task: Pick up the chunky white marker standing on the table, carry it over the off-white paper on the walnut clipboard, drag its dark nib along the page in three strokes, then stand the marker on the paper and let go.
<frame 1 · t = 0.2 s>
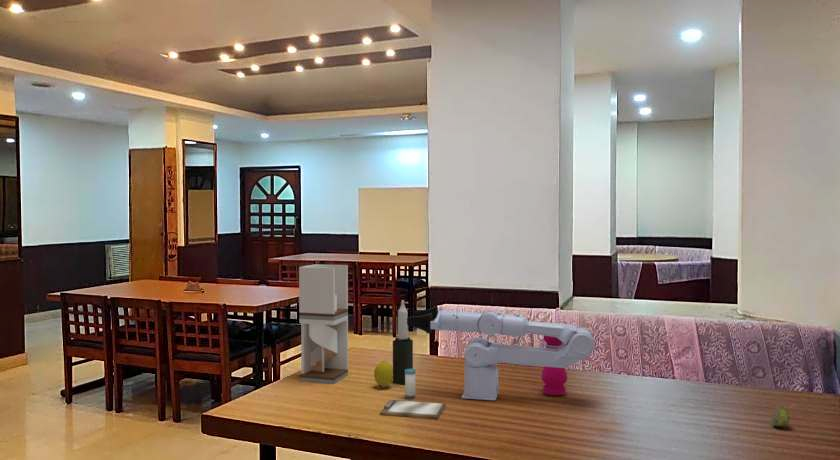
hand: (410, 318, 177), 21 cm above the table, tool horizontal, fingers open, 7 cm apart
pepper mill: (554, 393, 176), on the table, touching arm
marker: (410, 397, 172), on the table
lemon: (383, 388, 182), on the table
lime: (779, 427, 149), on the table
white tiered tower model: (324, 378, 193), on the table
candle: (402, 382, 188), on the table
clipboard: (413, 410, 161), on the table
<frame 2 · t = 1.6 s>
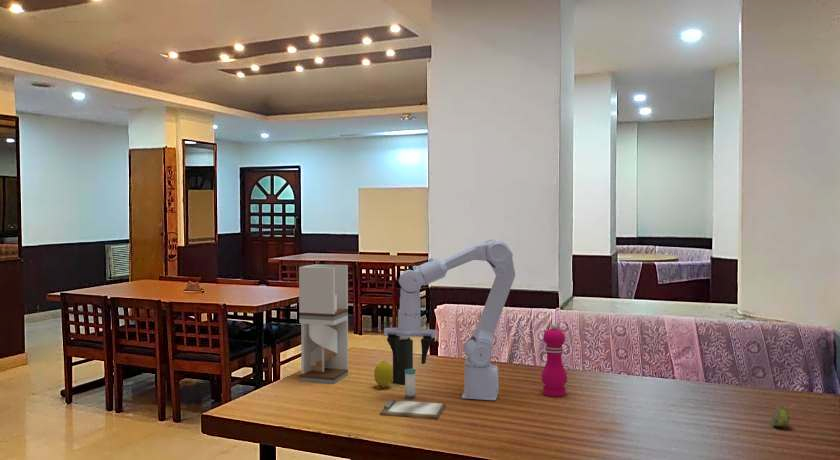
hand: (410, 362, 172), 10 cm above the table, tool pointing down, fingers open, 7 cm apart
pepper mill: (554, 394, 176), on the table
everything else where it was.
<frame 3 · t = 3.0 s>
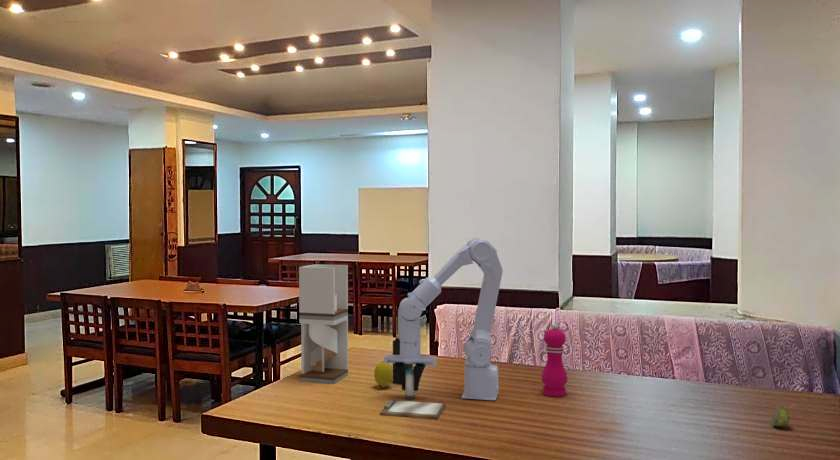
hand: (410, 389, 172), 2 cm above the table, tool pointing down, fingers closed on marker, 3 cm apart
marker: (410, 397, 172), on the table, touching gripper
everything else where it was.
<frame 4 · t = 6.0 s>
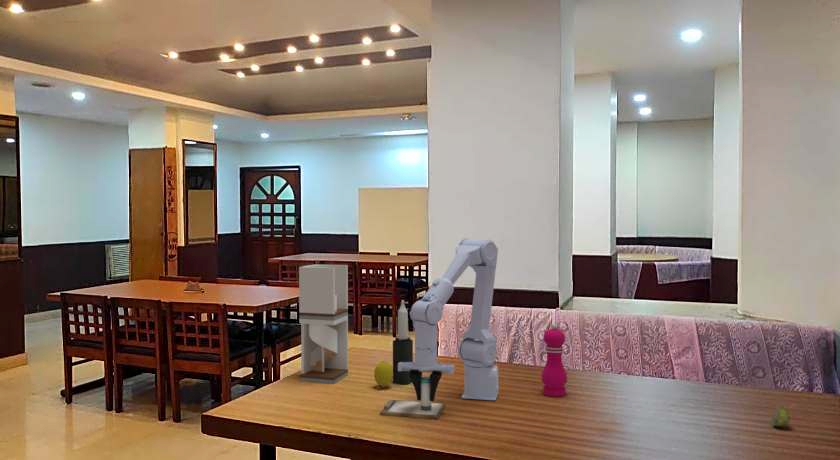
hand: (425, 399, 159), 3 cm above the table, tool pointing down, fingers closed on marker, 3 cm apart
marker: (425, 408, 159), point 1 cm above the table, touching gripper
everything else where it was.
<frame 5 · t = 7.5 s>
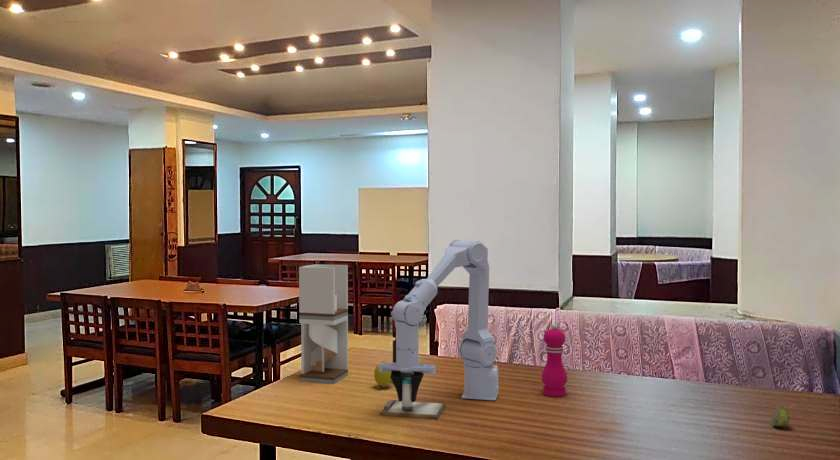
hand: (407, 400, 159), 3 cm above the table, tool pointing down, fingers closed on marker, 3 cm apart
marker: (407, 409, 159), point 1 cm above the table, touching gripper
everything else where it was.
when the fingers open (3 cm above the table, at t = 8.9 s): marker stays where it is, resting on clipboard.
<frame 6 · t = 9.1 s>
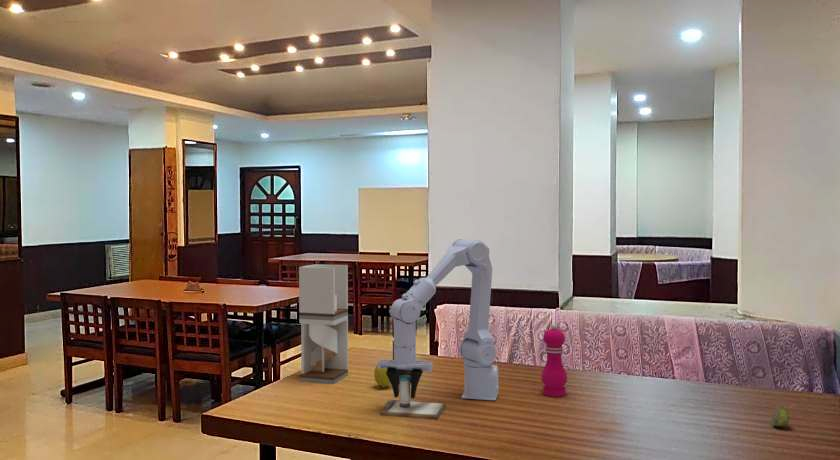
hand: (404, 396, 162), 3 cm above the table, tool pointing down, fingers open, 4 cm apart
marker: (404, 406, 162), point 1 cm above the table, touching clipboard
everything else where it was.
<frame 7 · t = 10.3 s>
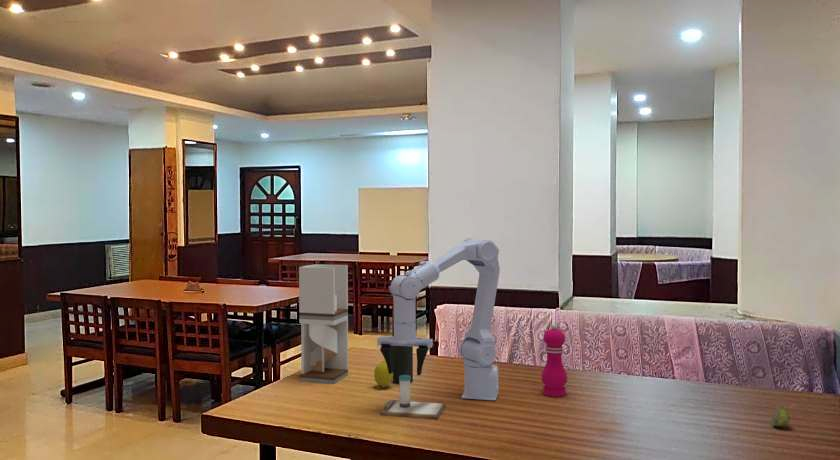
hand: (404, 373, 162), 9 cm above the table, tool pointing down, fingers open, 7 cm apart
nothing on the table moved.
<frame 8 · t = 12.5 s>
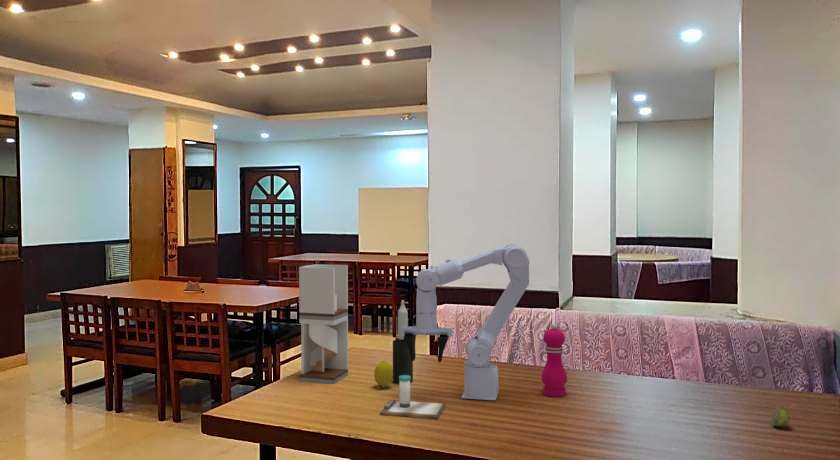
hand: (426, 360, 174), 10 cm above the table, tool pointing down, fingers open, 7 cm apart
nothing on the table moved.
at the end: marker inside the target area on the clipboard (2.5 cm from its centre), point 0.8 cm above the clipboard's base; marker tilted 0°; the gripper is holding nothing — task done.
